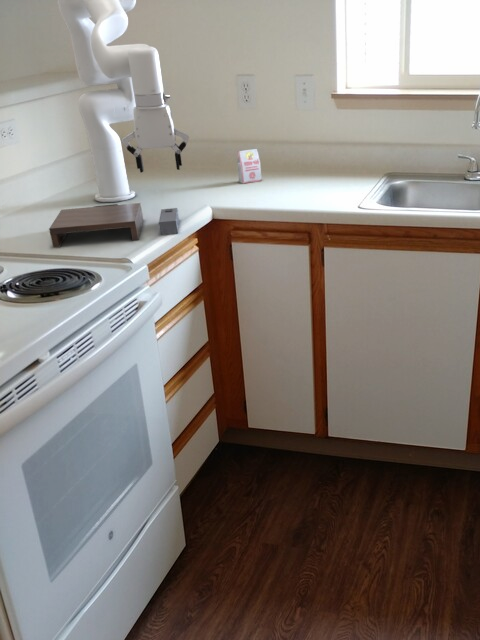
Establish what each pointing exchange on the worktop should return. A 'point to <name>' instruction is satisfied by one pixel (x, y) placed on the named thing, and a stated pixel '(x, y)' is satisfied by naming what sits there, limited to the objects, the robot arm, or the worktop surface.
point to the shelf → (97, 220)
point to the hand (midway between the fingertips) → (160, 170)
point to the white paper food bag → (249, 166)
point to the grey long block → (169, 221)
